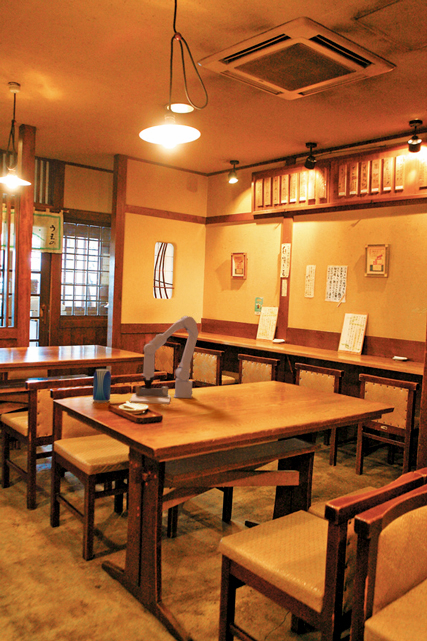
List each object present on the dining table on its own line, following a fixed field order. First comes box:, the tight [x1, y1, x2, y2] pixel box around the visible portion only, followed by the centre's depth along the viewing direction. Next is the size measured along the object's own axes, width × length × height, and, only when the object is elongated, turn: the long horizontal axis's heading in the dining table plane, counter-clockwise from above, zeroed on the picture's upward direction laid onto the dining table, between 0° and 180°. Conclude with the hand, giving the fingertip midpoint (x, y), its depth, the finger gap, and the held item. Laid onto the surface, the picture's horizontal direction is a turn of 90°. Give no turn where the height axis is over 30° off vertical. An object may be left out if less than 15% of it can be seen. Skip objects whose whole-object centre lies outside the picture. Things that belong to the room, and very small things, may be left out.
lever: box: [135, 385, 169, 396], centre depth 267 cm, size 17×4×5 cm, turn 95°
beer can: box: [92, 368, 112, 404], centre depth 252 cm, size 8×8×16 cm
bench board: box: [129, 393, 171, 405], centre depth 263 cm, size 20×18×1 cm
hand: (147, 391), depth 269 cm, fingers closed
